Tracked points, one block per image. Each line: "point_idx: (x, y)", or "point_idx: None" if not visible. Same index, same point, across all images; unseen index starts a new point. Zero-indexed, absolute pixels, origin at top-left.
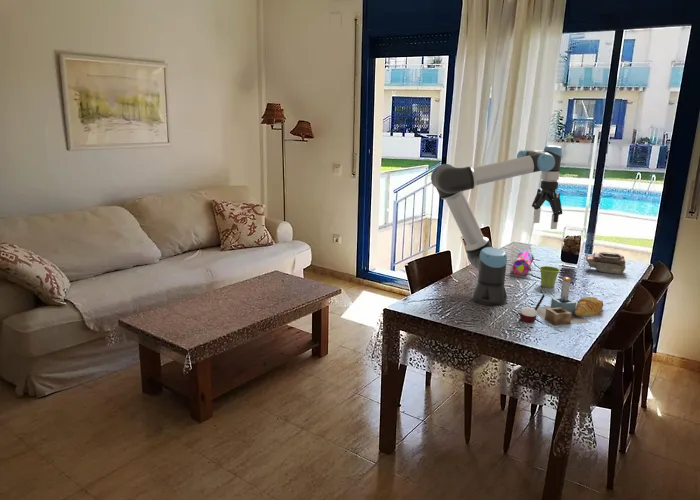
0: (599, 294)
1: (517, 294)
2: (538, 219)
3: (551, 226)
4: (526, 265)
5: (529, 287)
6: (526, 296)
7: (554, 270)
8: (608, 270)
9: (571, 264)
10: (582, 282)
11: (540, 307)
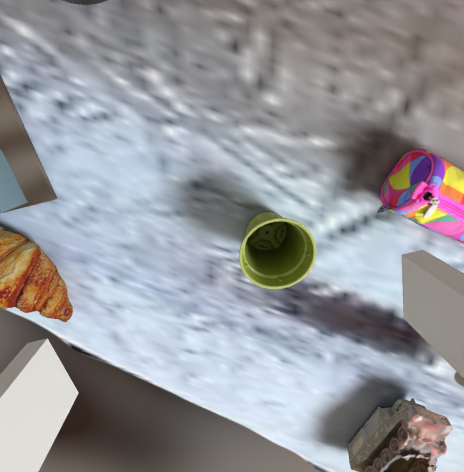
0: (188, 343)
1: (165, 85)
2: (435, 333)
3: (8, 368)
4: (400, 201)
5: (247, 161)
6: (146, 114)
7: (291, 274)
8: (366, 428)
9: None
10: (292, 339)
11: (9, 118)
